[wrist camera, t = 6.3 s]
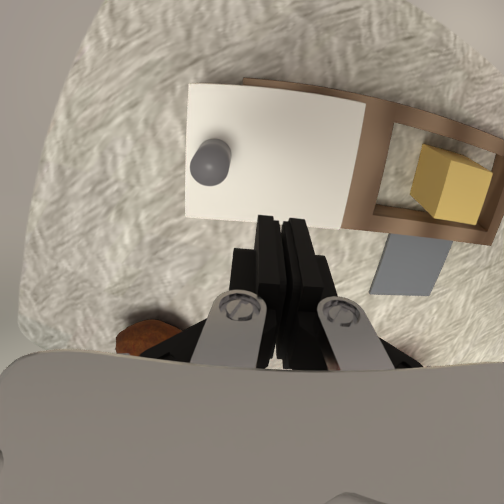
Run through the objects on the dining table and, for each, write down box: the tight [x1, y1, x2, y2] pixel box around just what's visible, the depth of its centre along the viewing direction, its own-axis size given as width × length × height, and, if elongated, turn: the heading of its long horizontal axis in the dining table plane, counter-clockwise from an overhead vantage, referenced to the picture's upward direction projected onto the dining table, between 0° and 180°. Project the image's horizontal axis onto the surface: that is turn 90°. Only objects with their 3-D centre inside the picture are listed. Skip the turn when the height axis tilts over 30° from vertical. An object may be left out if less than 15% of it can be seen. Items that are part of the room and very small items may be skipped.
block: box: [410, 144, 493, 225], centre depth 24 cm, size 5×5×5 cm
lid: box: [185, 83, 366, 230], centre depth 21 cm, size 12×10×4 cm
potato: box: [115, 319, 182, 356], centre depth 33 cm, size 8×11×8 cm
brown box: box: [243, 78, 504, 246], centre depth 25 cm, size 27×11×2 cm, turn 85°
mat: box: [369, 233, 453, 296], centre depth 31 cm, size 8×8×1 cm
